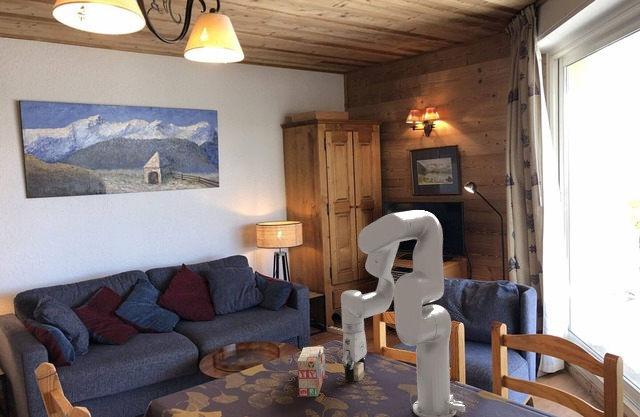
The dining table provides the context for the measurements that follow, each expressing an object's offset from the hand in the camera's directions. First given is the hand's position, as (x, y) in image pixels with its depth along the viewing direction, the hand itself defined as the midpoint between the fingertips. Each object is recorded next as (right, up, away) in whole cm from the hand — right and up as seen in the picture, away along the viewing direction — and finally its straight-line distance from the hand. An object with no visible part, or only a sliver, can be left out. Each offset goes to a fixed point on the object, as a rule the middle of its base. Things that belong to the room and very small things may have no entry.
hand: (355, 374), depth 177 cm
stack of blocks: (-15, -2, -2) cm, 15 cm away
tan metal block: (0, -1, 0) cm, 1 cm away
